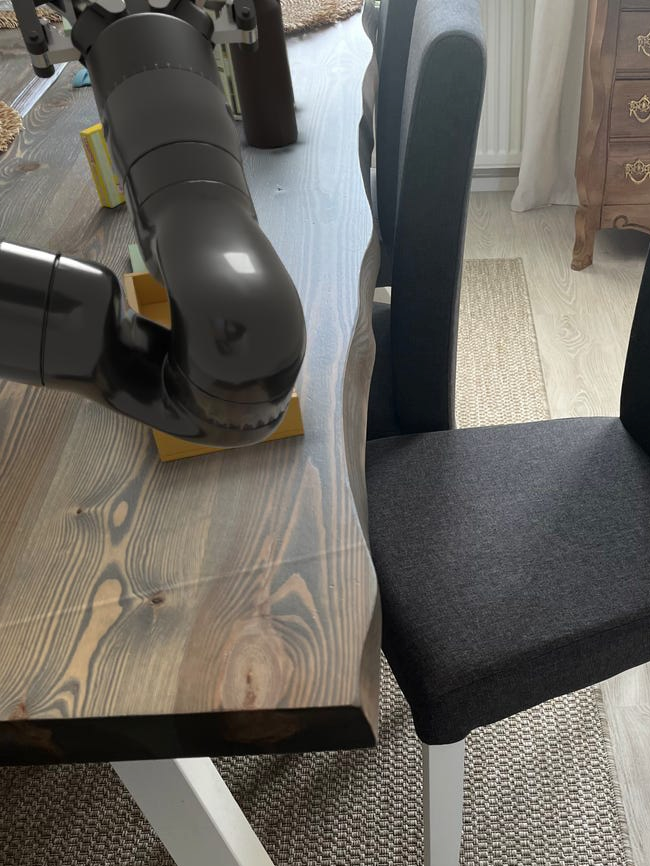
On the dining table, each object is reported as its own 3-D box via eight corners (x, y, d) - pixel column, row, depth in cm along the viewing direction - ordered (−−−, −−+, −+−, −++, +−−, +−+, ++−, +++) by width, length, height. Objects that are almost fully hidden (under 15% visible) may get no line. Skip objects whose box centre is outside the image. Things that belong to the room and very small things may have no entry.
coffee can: (278, 92, 144) (261, -24, 134) (307, 112, 138) (292, -7, 128) (210, 105, 141) (187, -12, 131) (237, 127, 134) (215, 5, 124)
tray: (304, 433, 83) (298, 396, 80) (161, 462, 80) (150, 425, 78) (250, 288, 101) (243, 254, 99) (132, 308, 99) (122, 273, 96)
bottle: (244, 133, 132) (211, -47, 118) (295, 128, 134) (269, -52, 119) (248, 151, 128) (215, -34, 114) (301, 145, 129) (275, -39, 115)
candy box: (192, 158, 127) (177, 87, 121) (205, 161, 126) (190, 89, 120) (98, 205, 117) (77, 129, 111) (112, 209, 116) (91, 133, 110)
